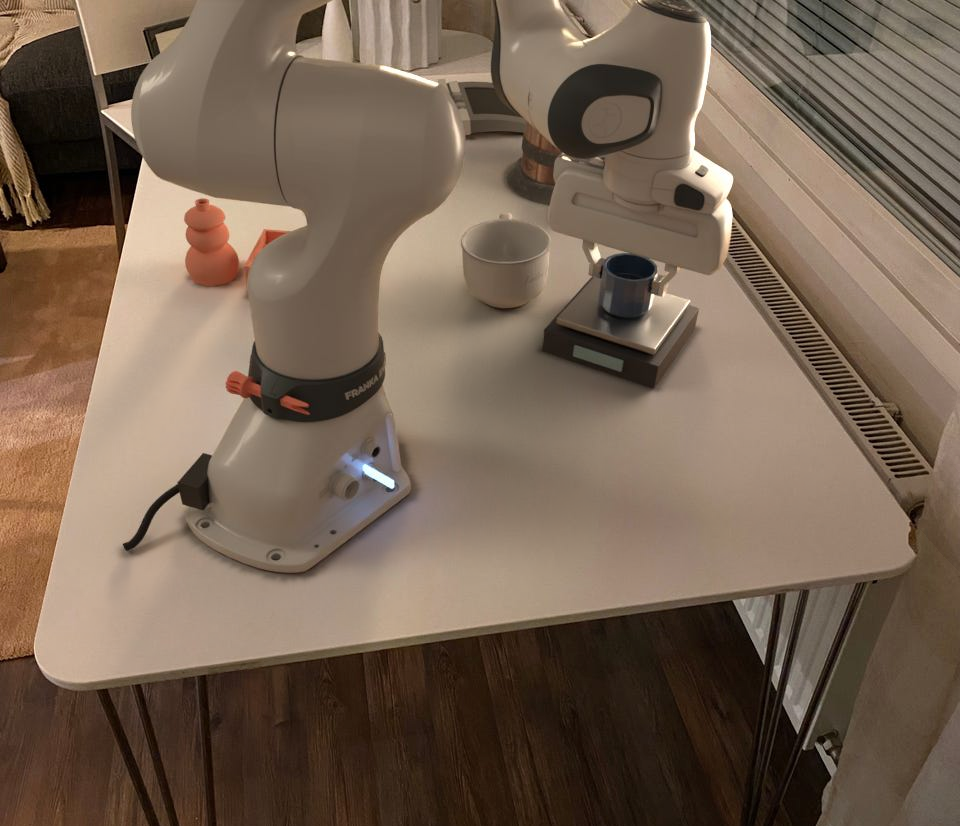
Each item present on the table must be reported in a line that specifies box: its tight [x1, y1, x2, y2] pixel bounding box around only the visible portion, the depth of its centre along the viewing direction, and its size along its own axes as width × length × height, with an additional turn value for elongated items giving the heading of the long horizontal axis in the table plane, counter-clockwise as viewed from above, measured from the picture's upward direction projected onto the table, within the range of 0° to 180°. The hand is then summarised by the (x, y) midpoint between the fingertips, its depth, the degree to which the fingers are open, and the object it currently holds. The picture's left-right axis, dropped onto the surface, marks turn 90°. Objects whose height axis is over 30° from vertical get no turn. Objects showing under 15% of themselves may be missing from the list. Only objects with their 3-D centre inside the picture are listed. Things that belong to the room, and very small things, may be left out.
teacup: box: [460, 212, 552, 309], centre depth 120 cm, size 14×11×8 cm
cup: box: [598, 252, 659, 317], centre depth 111 cm, size 6×6×5 cm
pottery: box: [183, 197, 292, 298], centre depth 119 cm, size 18×10×10 cm, turn 85°
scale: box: [541, 276, 700, 389], centre depth 114 cm, size 14×14×3 cm
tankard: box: [505, 32, 606, 206], centre depth 137 cm, size 24×17×20 cm
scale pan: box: [556, 277, 691, 355], centre depth 113 cm, size 12×12×1 cm
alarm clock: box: [437, 78, 526, 136], centre depth 162 cm, size 17×5×16 cm
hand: (627, 284), depth 110 cm, fingers closed on cup, 6 cm apart
